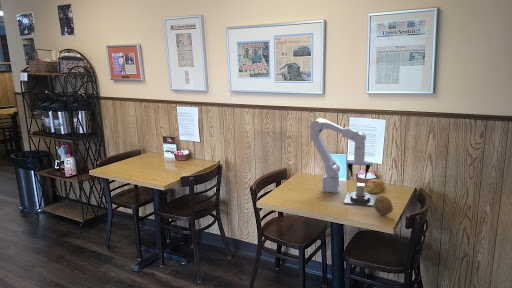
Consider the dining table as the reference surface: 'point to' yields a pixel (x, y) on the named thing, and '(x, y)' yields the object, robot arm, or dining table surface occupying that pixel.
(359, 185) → the column
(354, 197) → the stand base
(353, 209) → the dining table surface
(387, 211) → the natural sponge
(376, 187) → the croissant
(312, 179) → the dining table surface
